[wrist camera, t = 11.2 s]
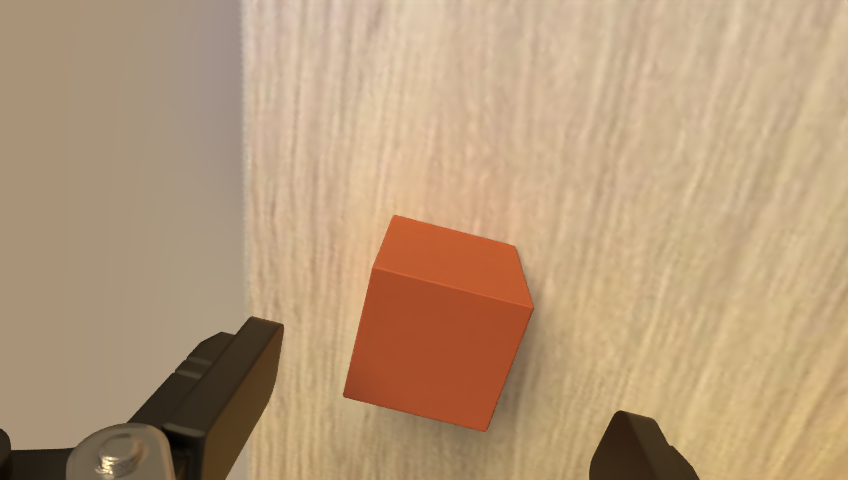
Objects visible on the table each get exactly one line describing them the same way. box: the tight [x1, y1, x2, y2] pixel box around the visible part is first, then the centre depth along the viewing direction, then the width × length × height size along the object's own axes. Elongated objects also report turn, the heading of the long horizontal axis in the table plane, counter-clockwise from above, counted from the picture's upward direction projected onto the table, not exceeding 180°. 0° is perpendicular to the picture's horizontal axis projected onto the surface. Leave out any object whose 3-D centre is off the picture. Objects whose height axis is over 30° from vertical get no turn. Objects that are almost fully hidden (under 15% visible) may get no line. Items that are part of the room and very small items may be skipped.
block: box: [343, 215, 534, 432], centre depth 15 cm, size 4×4×4 cm
